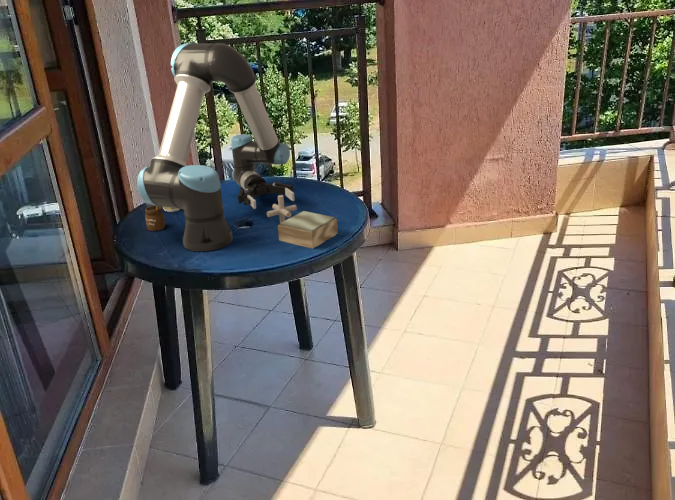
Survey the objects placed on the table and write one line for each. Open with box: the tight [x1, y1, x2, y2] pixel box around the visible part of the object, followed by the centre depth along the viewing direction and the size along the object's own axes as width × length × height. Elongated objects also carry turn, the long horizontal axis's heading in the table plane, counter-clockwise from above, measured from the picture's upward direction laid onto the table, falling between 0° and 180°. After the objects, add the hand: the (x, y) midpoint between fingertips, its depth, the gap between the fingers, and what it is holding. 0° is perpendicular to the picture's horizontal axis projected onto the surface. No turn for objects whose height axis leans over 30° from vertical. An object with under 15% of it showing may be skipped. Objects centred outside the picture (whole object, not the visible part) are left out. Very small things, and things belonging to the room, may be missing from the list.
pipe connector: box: [266, 194, 298, 224], centre depth 206 cm, size 10×10×10 cm
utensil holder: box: [144, 201, 166, 232], centre depth 209 cm, size 6×6×12 cm
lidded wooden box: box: [277, 210, 339, 250], centre depth 197 cm, size 13×13×6 cm
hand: (274, 200), depth 213 cm, fingers open, 13 cm apart
